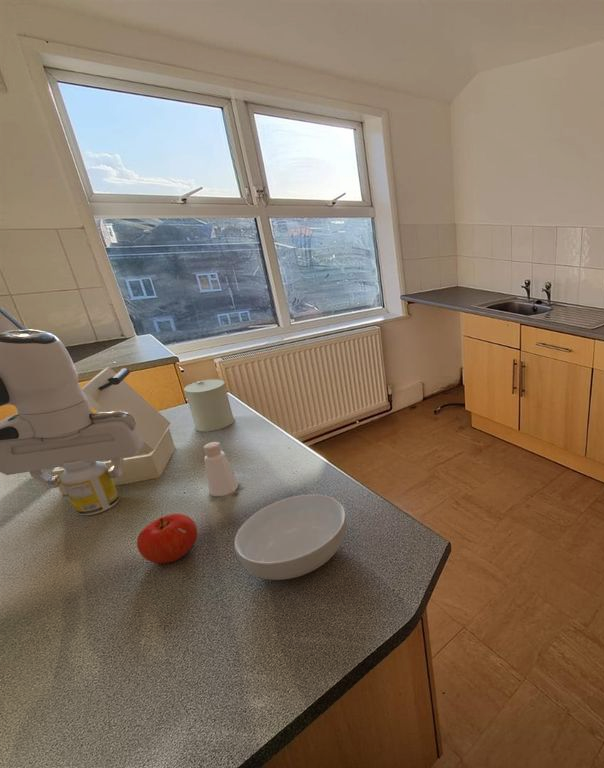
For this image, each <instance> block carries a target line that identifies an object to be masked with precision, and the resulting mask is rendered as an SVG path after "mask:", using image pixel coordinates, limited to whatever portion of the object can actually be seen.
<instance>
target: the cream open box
mask: <svg viewBox="0 0 604 768" xmlns="http://www.w3.org/2000/svg"><path fill="white" fill-rule="evenodd" d="M175 450H176V446H175V442H174V439H173V437H172V434H171V430H170V427H168V428H167V430H166V431H165V433H164V435H163V436H162V438H161V440H160V441H159V443H158V444H157V446H156V448H155V449H154V451H152V452H150V453H148V454H147V453H146V452H145V451H143V450H142V449H141V450H140V451H139V452H138V453H137V454H136V455H133V456H127V457H124V459H123V461H122V464H121V469H122V475H121V476H120V477H115V478H112V480H113V483H114V485H115V487H116V486H121V485H122V486H123V485H127V484H131V483H138V482H143V481H148V480H154V479H160V478H161V476H162V474H163V472H164V470H165V469H166V467H167V465H168V463H169V462H170V459H171V457H172V456H173V453H175V452H174V451H175ZM100 462H103V463H104V464H105V465H106V466H107V469H108V470H109V469H110V468H111V467H113V466H115V463H116V462H115V463H112V462H111V460H110V459H108V460H101V461H100ZM64 471H65V469H64V468H63V467H56V468H53V469H52V471H51V475H52V476H59V480H60V481H61V475H62V474H63V472H64ZM57 488H58V489H59V491H60V493H61V495H62V496H66V495H68V493H67V491H66V489H65V487H64V485H63V483H62V481H61V484H60V485H59V486H58V487H57Z"/></svg>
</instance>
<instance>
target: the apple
mask: <svg viewBox="0 0 604 768" xmlns="http://www.w3.org/2000/svg"><path fill="white" fill-rule="evenodd" d="M197 538H198V527H197V525H196V522H195V521H194V520H193V519H192V518H191V517H190V516H189V515H186V514H182V513H172V514H168V515H164V516H162V517H159V518H157V519H155V520H153V521H152V522H151V523H149V524H147V525H146V526H145V527H144V528H143V529H142V530H141V531H140V532H139V534H138V536H137V540H136V546H137V551H138V552H139V554H140V555H141V556H142V557H143V558H144V559H145V560H147V561H149V562H152V563H154V564H155V563H156V564H166V563H167V564H168V563H173V562H175V561H177V560H179V559H181V558H182V557H183V556H185V555H186V554H187V553H189V551H190V550H192V549H193V547H194V545H195V544H196V542H197Z"/></svg>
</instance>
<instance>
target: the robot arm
mask: <svg viewBox="0 0 604 768" xmlns="http://www.w3.org/2000/svg"><path fill="white" fill-rule="evenodd" d="M81 388H82V387H81V386H80V384H79V373H78V371H77V368H76V366H75V364H74V361H73V359H72V356H71V355H70V353H69V351H68V349H67V348H66V346H65V345H64V343H63V342H62V341H61V340H60V339H59V337H57V336H56V335H55V334H53V333H51V332H48V331H44V330H39V329H28V328H27V327H26V326H24V325H23V324H21V322H19V321H18V320H17V319H16V318H15V317H13V316H12V315H11V314H10V313H8V311H6V310H5V309H4V308H3V307H1V306H0V407H2V406H6V405H11V406H14V407H15V408H16V411H17V413H15V414H11V415H8V416H7V417H4V418H3V419H2V420H0V473H1V474H3V475H5V476H10V475H18V474H24V473H29V474H30V476H31V477H32V478H34V479H36V480H38V481H40V482H41V483H43V485H44V487H45V489H47V490H49V489H56V488H59V487H58V486H59V485H60V484H61V481H60V480H59V476H53V475H52V474H50V473H49V472H48V471H46V470H49V469H55V468H56V467H63V463H69V462H75V461H81V460H84V461H85V462H87V463H88V462H95V461H101V460H108V459H110V460H111V462H112V463H115V462H116V463H115V466H113V467H111V468H110V469H109V470H108V474H109V475H110V478H115V477H120V476H121V475H122V469H121V464H122V461H123V459H124V457H127V456H133V455H136V454H137V453H138V452H139V451H140V450H141V448H142V446H143V440H142V438H141V436H140V434H139V432H138V430H137V428H136V422H135V420H134V417H133V416H132V415H131V414H129V413H126V412H122V411H113V412H105V413H98V412H95V413H94V412H93V410H92V409H93V408H92V407H91V406H90V404H89V402H88V399H87V397H86V395H85V393H84V392H83V391H82V390H81ZM123 414H124V415H123Z"/></svg>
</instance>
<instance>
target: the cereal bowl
mask: <svg viewBox="0 0 604 768" xmlns="http://www.w3.org/2000/svg"><path fill="white" fill-rule="evenodd" d="M347 522H348V521H347V514H346V509H345V507H344V506H343V505H342V503H341V502H339V501H338V500H337V499H335V498H333V497H330V496H328V495H323V494H302V495H295V496H290V497H286V498H283V499H281V500H277V501H275V502H273V503H271V504H269V505H266V506H265V507H263V508H260V509H259V510H258V511H256V512H255V513H254V514H252V515H251V516H250V517H248V519H246V521H245V522H243V524H242V525H241V526H240V528H239V529H238V530H237V532H236V535H235V539H234V550H235V553H236V556H237V559H238V560H239V563H240V564H241V566H242V567H243V568H244V569H245V570H246V571H247V572H248V573H250V574H251V575H254V576H255V577H258V578H261V579H265V580H271V581H283V580H290V579H295V578H299V577H302V576H304V575H307V574H310V573H312V572H313V571H315V570H317V569H319V568H320V567H321V566H323V565H324V564H326V563H327V562H328V561H329V560H331V558H333V557H334V555H336V553H337V551H338V550H339V548H340V547H341V545H342V544H343V542H344V539H345V536H346V533H347V532H346V531H347V526H348V525H347Z"/></svg>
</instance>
